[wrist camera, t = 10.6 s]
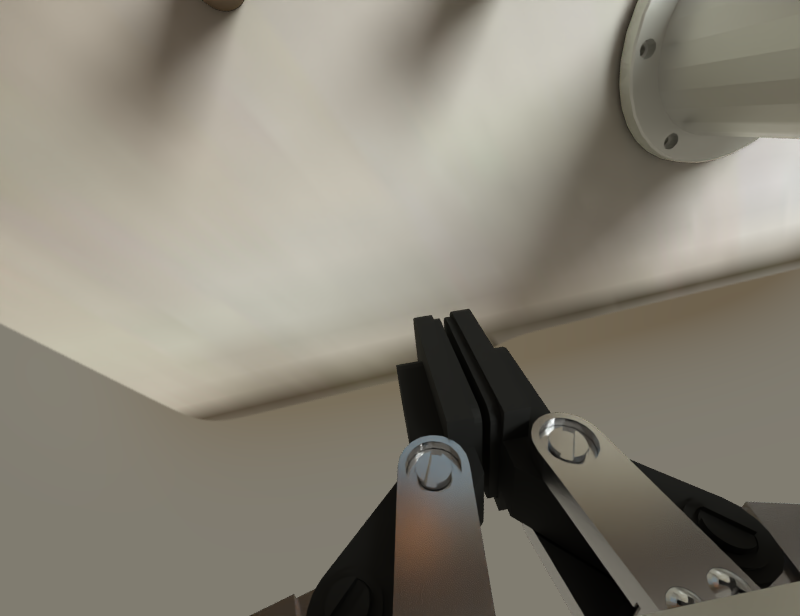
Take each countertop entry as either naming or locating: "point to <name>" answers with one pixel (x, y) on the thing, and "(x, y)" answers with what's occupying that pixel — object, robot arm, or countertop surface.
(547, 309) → the countertop surface
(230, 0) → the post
